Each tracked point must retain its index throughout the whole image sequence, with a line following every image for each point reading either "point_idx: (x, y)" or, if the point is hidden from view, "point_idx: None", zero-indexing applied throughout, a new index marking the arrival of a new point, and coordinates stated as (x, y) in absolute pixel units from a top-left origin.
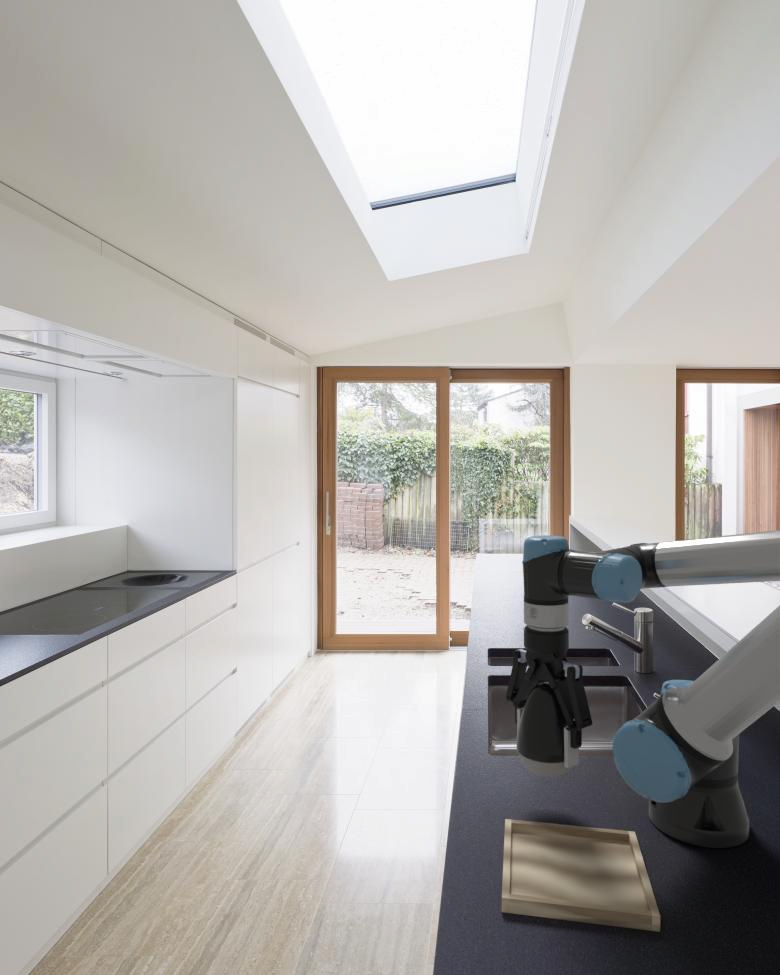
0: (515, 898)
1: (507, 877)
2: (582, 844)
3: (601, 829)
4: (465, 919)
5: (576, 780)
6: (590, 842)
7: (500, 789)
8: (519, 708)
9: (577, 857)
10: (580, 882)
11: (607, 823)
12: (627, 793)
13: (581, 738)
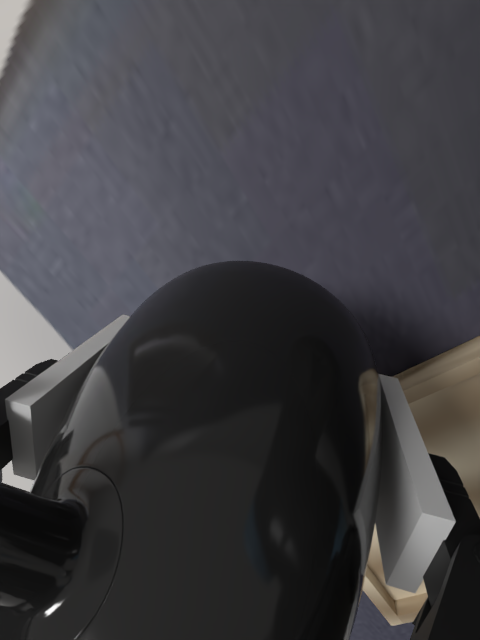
0: (411, 620)
1: (372, 589)
2: (430, 411)
3: (467, 368)
4: (353, 626)
5: (244, 84)
6: (444, 395)
7: (137, 303)
8: (16, 463)
9: (441, 456)
10: (478, 515)
11: (436, 263)
12: (427, 20)
13: (467, 496)
